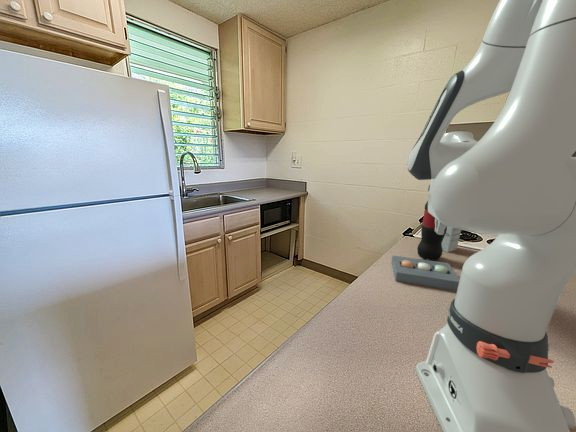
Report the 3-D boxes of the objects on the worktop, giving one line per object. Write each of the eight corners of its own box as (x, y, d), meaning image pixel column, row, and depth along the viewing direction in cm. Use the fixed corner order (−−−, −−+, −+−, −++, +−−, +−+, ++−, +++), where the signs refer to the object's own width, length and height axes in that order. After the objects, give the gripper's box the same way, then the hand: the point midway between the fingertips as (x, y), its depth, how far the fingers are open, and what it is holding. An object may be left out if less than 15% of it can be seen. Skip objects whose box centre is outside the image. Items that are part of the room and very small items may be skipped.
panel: (460, 291, 72) (462, 282, 71) (395, 280, 77) (396, 272, 77) (446, 271, 85) (448, 263, 84) (391, 262, 90) (392, 255, 89)
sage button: (448, 277, 77) (449, 270, 77) (435, 275, 78) (436, 268, 78) (444, 271, 80) (446, 265, 80) (432, 270, 81) (433, 264, 81)
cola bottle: (444, 262, 92) (461, 183, 84) (420, 260, 93) (435, 182, 85) (435, 254, 100) (449, 180, 92) (413, 252, 101) (425, 179, 93)
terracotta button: (413, 271, 80) (414, 265, 79) (401, 269, 81) (402, 263, 80) (411, 266, 83) (412, 261, 83) (400, 265, 84) (401, 259, 84)
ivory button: (430, 274, 79) (431, 268, 78) (418, 272, 80) (419, 266, 79) (427, 269, 82) (429, 263, 81) (416, 267, 83) (417, 261, 82)
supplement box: (430, 246, 108) (435, 219, 105) (440, 244, 111) (445, 217, 108) (447, 252, 102) (453, 223, 99) (457, 249, 105) (463, 221, 102)
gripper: (473, 194, 62) (463, 245, 65) (448, 186, 81) (440, 226, 84) (445, 192, 64) (436, 242, 67) (426, 185, 83) (420, 224, 86)
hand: (438, 233), depth 76 cm, fingers closed
